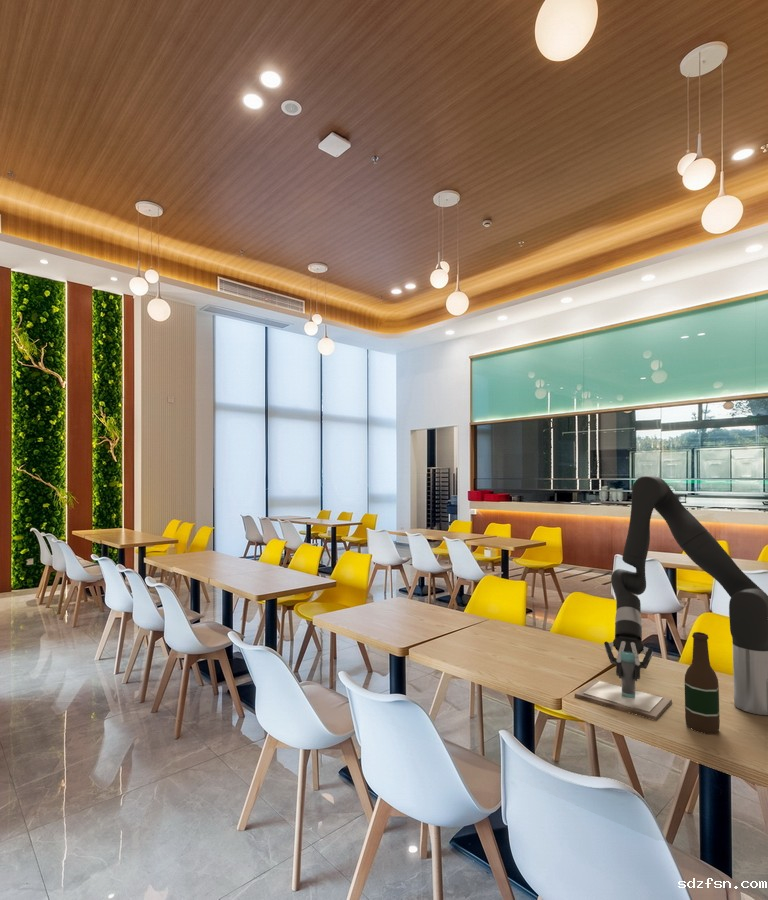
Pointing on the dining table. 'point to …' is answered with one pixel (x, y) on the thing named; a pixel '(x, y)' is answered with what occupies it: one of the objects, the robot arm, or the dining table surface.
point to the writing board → (624, 699)
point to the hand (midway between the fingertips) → (628, 678)
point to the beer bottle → (701, 689)
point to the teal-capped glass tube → (628, 674)
